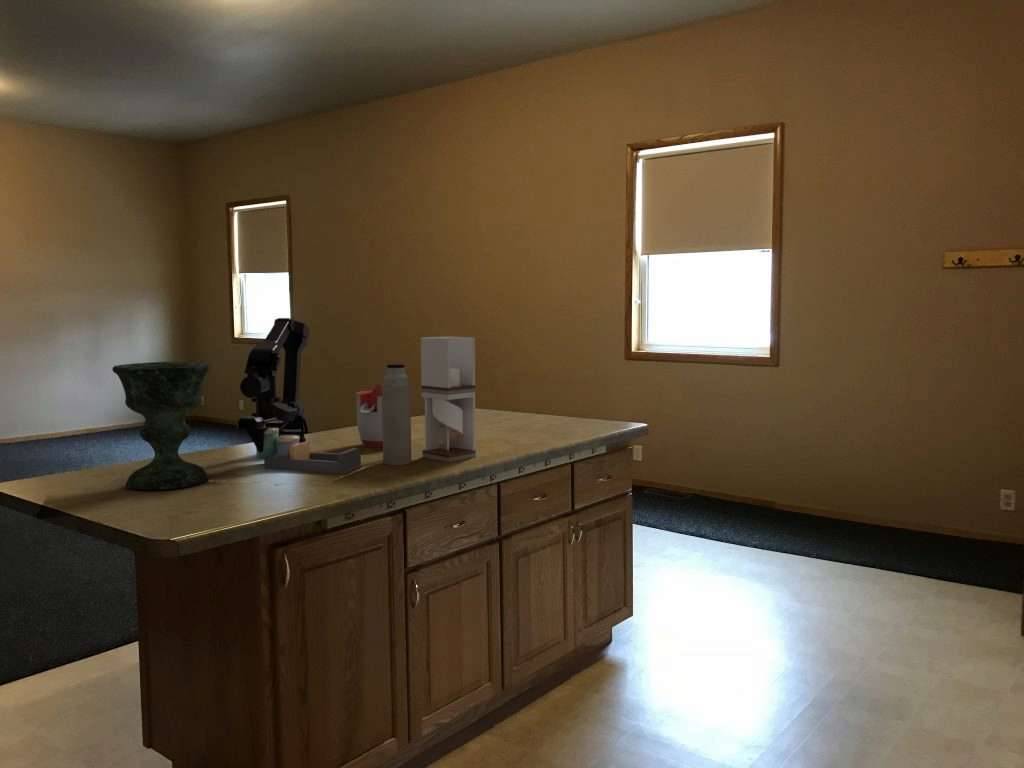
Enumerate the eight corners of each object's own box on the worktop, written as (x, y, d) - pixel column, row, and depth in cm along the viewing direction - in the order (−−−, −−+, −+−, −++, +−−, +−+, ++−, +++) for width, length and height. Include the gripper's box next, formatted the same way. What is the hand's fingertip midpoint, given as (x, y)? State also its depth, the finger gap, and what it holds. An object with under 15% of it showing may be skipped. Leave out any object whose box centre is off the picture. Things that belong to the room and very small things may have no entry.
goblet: (119, 478, 213) (114, 363, 210) (212, 471, 222) (208, 360, 219) (116, 497, 193) (109, 369, 190) (218, 488, 202) (213, 366, 199)
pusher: (290, 468, 221) (289, 446, 220) (306, 462, 229) (305, 441, 228) (294, 468, 221) (293, 446, 220) (309, 463, 228) (309, 441, 228)
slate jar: (272, 467, 224) (271, 438, 223) (285, 462, 230) (284, 434, 229) (292, 468, 222) (291, 438, 221) (304, 464, 228) (303, 435, 227)
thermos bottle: (391, 459, 239) (389, 362, 236) (416, 460, 236) (414, 363, 233) (377, 464, 231) (376, 364, 229) (403, 466, 229) (402, 365, 226)
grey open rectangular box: (264, 471, 222) (263, 450, 221) (287, 464, 232) (286, 443, 232) (341, 476, 215) (340, 454, 214) (360, 468, 226) (360, 447, 225)
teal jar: (251, 458, 225) (250, 429, 225) (264, 454, 231) (263, 426, 230) (271, 460, 224) (270, 430, 223) (284, 455, 229) (283, 427, 229)
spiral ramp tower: (422, 457, 242) (420, 337, 239) (449, 452, 250) (447, 336, 246) (448, 462, 234) (447, 338, 231) (475, 457, 242) (474, 337, 239)
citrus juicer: (343, 448, 256) (342, 384, 254) (373, 440, 272) (372, 379, 271) (387, 452, 251) (386, 386, 249) (415, 442, 267) (414, 381, 265)
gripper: (271, 398, 214) (273, 457, 216) (309, 391, 232) (311, 445, 234) (234, 397, 218) (237, 455, 219) (275, 389, 235) (276, 444, 237)
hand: (267, 450), depth 227 cm, fingers closed on teal jar, 6 cm apart
